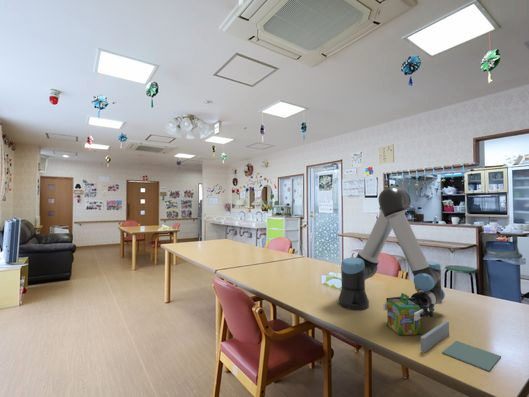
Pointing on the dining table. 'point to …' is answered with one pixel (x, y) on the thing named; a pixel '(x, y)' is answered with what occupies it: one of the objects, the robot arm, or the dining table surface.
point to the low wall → (434, 336)
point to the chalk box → (403, 316)
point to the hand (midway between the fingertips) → (398, 311)
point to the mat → (472, 355)
